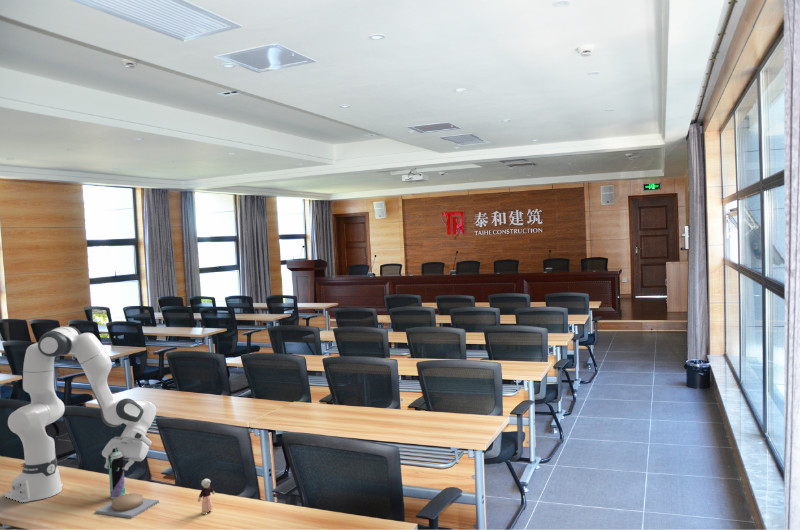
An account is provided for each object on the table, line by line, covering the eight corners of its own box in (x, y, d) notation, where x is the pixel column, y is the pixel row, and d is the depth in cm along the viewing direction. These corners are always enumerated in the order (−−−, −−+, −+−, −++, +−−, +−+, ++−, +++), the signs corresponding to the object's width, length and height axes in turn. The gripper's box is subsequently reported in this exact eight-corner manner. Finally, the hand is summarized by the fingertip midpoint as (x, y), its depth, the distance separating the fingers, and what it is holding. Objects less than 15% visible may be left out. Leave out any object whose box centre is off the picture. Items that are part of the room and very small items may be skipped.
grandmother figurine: (205, 516, 223) (203, 482, 223) (197, 515, 225) (195, 482, 224) (218, 507, 231) (216, 475, 230) (210, 506, 232) (208, 474, 231)
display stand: (95, 513, 231) (94, 504, 231) (123, 498, 244) (123, 489, 244) (132, 518, 225) (131, 509, 225) (159, 502, 238) (158, 494, 238)
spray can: (119, 499, 243) (116, 450, 243) (107, 498, 245) (104, 450, 244) (128, 493, 249) (125, 446, 248) (116, 493, 250) (113, 445, 249)
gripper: (108, 432, 256) (91, 463, 247) (146, 435, 249) (130, 467, 240) (117, 439, 261) (100, 470, 252) (155, 442, 253) (139, 474, 245)
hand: (115, 468), depth 246 cm, fingers open, 8 cm apart
